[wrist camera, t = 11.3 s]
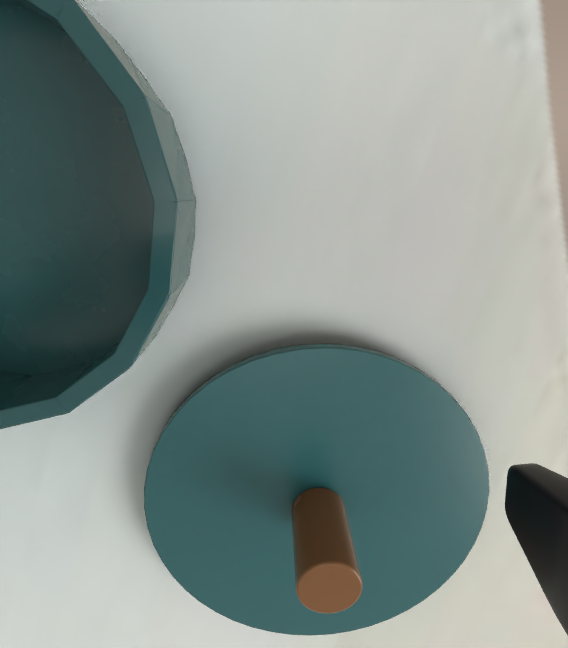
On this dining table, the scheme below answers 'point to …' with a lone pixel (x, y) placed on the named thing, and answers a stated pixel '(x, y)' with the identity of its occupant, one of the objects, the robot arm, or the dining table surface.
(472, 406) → the dining table surface
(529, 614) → the dining table surface
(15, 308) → the pot
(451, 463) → the lid
